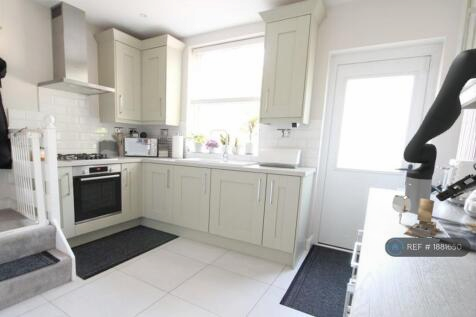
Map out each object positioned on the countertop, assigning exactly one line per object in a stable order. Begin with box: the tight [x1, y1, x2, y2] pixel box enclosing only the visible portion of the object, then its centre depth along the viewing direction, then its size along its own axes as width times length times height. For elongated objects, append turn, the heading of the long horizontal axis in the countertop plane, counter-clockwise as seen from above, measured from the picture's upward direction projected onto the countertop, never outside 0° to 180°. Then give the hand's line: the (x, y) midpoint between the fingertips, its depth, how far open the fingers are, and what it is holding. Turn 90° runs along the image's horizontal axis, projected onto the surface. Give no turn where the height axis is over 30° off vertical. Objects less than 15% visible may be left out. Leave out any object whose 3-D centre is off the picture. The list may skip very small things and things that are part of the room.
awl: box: [416, 198, 435, 230], centre depth 74 cm, size 4×4×12 cm
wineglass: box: [391, 194, 411, 224], centre depth 85 cm, size 6×6×12 cm
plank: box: [403, 220, 441, 239], centre depth 77 cm, size 18×7×4 cm, turn 130°
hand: (444, 197), depth 69 cm, fingers open, 8 cm apart
